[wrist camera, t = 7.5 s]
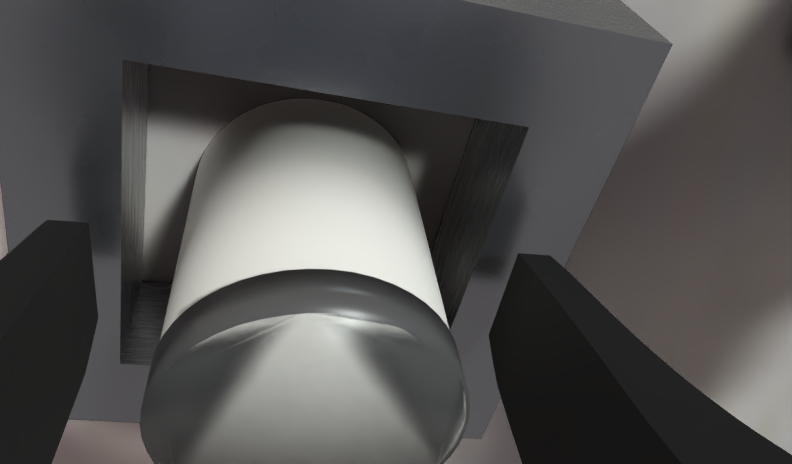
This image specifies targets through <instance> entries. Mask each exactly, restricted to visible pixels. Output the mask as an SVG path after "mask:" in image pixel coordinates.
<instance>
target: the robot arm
mask: <svg viewBox="0 0 792 464" xmlns="http://www.w3.org/2000/svg"><path fill="white" fill-rule="evenodd" d="M97 321H98V310H97V300H96V290H95V280H94V270H93V260H92V249H91V239H90V229H89V223H86V222H72V221H58V220H46V221H45V222H44V223H42V224H41V225H40V226H39V227H38V228H36V229H35V230H34V231H33V232H32V233H31V234H29V235H28V236H27V237H26V238H25V239H24V240H23V241H22V242H20V243H19V244H18V245H17V246H16V247H15V248H14V249H12V250H11V251H10V252H9V253H8V254H7V255H6V256H5V257H3V258H2V259H1V260H0V464H51V463H52V461H53V458H54V456H55V453H56V450H57V448H58V445H59V442H60V440H61V437H62V435H63V432H64V429H65V427H66V424H67V421H68V419H69V416H70V413H71V411H72V408H73V405H74V403H75V400H76V397H77V395H78V392H79V389H80V387H81V384H82V381H83V378H84V376H85V373H86V368H87V364H88V360H89V356H90V352H91V348H92V343H93V339H94V334H95V330H96V326H97ZM489 341H490V347H491V353H492V360H493V365H494V371H495V376H496V381H497V386H498V389H499V392H500V396H501V399H502V402H503V405H504V408H505V412H506V415H507V418H508V421H509V424H510V427H511V430H512V433H513V436H514V439H515V443H516V446H517V449H518V452H519V455H520V458H521V461H522V464H792V455H791V454H789V453H788V452H786V451H785V450H783V449H782V448H780V447H778V446H777V445H775V444H774V443H772V442H771V441H769V440H768V439H766V438H765V437H763V436H761V435H760V434H758V433H757V432H755V431H754V430H752V429H751V428H750V427H748V426H747V425H745V424H744V423H742V422H741V421H739V420H738V419H737V418H735V417H734V416H732V415H731V414H730V413H728V412H727V411H726V410H724V409H723V408H722V407H720V406H719V405H718V404H716V403H715V402H714V401H712V400H711V399H710V398H708V397H707V396H706V395H704V394H703V393H702V392H700V391H699V390H698V389H696V388H695V387H694V386H693V385H691V384H690V383H689V382H688V381H686V380H685V379H684V378H683V377H682V376H680V375H679V374H678V373H677V372H676V371H674V370H673V369H672V368H671V367H670V366H669V365H667V364H666V363H665V362H664V361H663V360H662V359H660V358H659V357H658V356H657V355H656V354H655V353H653V352H652V351H651V350H650V349H649V348H648V347H647V346H646V345H644V344H643V343H642V342H641V341H640V340H639V339H638V338H637V337H636V336H635V335H633V334H632V333H631V332H630V331H629V330H628V329H627V328H626V327H625V326H624V325H623V324H622V323H621V322H620V321H619V320H617V319H616V318H615V317H614V316H613V315H612V314H611V313H610V312H609V311H608V310H607V309H606V308H605V307H604V306H603V305H602V304H601V303H600V302H599V301H598V300H597V299H596V298H595V297H594V296H593V295H592V294H591V293H590V292H588V291H587V290H586V289H585V288H584V287H583V286H582V285H581V284H580V283H579V282H578V281H577V280H576V279H575V278H574V277H573V276H572V275H571V274H570V273H569V272H568V271H567V270H566V269H565V268H564V267H562V266H561V265H560V264H559V263H558V262H557V261H556V260H555V259H553V258H552V257H551V256H550V255H537V254H523V253H518V255H517V258H516V260H515V263H514V266H513V269H512V271H511V274H510V277H509V280H508V282H507V285H506V288H505V291H504V294H503V296H502V299H501V302H500V305H499V307H498V310H497V313H496V316H495V318H494V321H493V324H492V327H491V329H490V332H489Z"/></svg>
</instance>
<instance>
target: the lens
mask: <svg viewBox="0 0 792 464" xmlns="http://www.w3.org/2000/svg"><path fill="white" fill-rule="evenodd" d="M469 411H470V401H469V393H468V389H467V385H466V381H465V377H464V373H463V369H462V365H461V361H460V357H459V353H458V350H457V346H456V343H455V340H454V338H453V336H452V334H451V332H450V330H449V326H448V322H447V318H446V314H445V310H444V306H443V302H442V298H441V294H440V290H439V286H438V282H437V278H436V274H435V270H434V266H433V262H432V258H431V254H430V250H429V246H428V242H427V238H426V234H425V230H424V226H423V222H422V218H421V213H420V209H419V205H418V201H417V197H416V193H415V189H414V185H413V181H412V177H411V173H410V170H409V166H408V163H407V160H406V158H405V156H404V154H403V152H402V150H401V148H400V147H399V145H398V144H397V142H396V141H395V139H394V138H393V137H392V136H391V135H390V134H389V133H388V132H387V131H386V130H385V129H384V128H383V127H382V126H381V125H379V124H378V123H377V122H376V121H375V120H373V119H371V118H370V117H368V116H367V115H365V114H363V113H361V112H359V111H357V110H355V109H353V108H351V107H348V106H345V105H342V104H339V103H336V102H330V101H325V100H320V99H306V98H303V99H287V100H281V101H275V102H271V103H268V104H265V105H261V106H258V107H256V108H254V109H252V110H249V111H247V112H245V113H243V114H242V115H240V116H238V117H237V118H235V119H233V120H232V121H231V122H230V123H228V124H227V125H226V126H225V127H224V128H222V129H221V130H220V131H219V133H218V134H217V135H216V136H215V137H214V138H213V139H212V141H211V142H210V144H209V145H208V147H207V148H206V150H205V152H204V154H203V156H202V158H201V160H200V163H199V166H198V170H197V173H196V178H195V183H194V187H193V192H192V196H191V201H190V205H189V210H188V215H187V219H186V224H185V228H184V233H183V237H182V242H181V247H180V251H179V256H178V260H177V265H176V269H175V274H174V279H173V283H172V288H171V292H170V297H169V301H168V306H167V310H166V315H165V320H164V324H163V329H162V333H161V338H160V342H159V344H158V346H157V348H156V350H155V353H154V356H153V359H152V363H151V367H150V371H149V375H148V380H147V384H146V389H145V393H144V398H143V402H142V407H141V415H140V428H141V435H142V439H143V442H144V445H145V447H146V450H147V452H148V454H149V455H150V457H151V459H152V460H153V462H154V463H155V464H443V463H444V462H445V461H446V460H447V459H448V458H449V457H450V456H451V454H452V453H453V452H454V450H455V449H456V448H457V446H458V445H459V443H460V441H461V439H462V437H463V435H464V433H465V430H466V427H467V423H468V420H469Z"/></svg>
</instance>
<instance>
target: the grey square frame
mask: <svg viewBox="0 0 792 464" xmlns="http://www.w3.org/2000/svg"><path fill="white" fill-rule="evenodd" d="M672 45H673V44H672V43H670V42H669V41H668V40H667V39H666V38H664V37H663V36H662V35H661V34H660V33H658V32H657V31H656V30H655V29H654V28H653V27H651V26H650V25H649V24H648V23H647V22H645V21H644V20H643V19H642V18H641V17H639V16H638V15H637V14H636V13H635V12H634V11H632V10H631V9H630V8H629V7H628V6H626V5H625V4H624V3H623V2H622V1H620V0H0V181H1V190H2V199H3V208H4V217H5V226H6V235H7V244H8V252H10V251H11V250H12V249H14V248H15V247H16V246H17V245H18V244H19V243H20V242H22V241H23V240H24V239H25V238H26V237H27V236H28V235H29V234H31V233H32V232H33V231H34V230H35V229H36V228H38V227H39V226H40V225H41V224H42V223H44V222H45V221H46V220H58V221H72V222H86V223H89V229H90V239H91V249H92V260H93V270H94V280H95V290H96V300H97V310H98V321H97V326H96V330H95V334H94V339H93V343H92V348H91V352H90V356H89V360H88V364H87V368H86V373H85V376H84V378H83V381H82V384H81V387H80V389H79V392H78V395H77V397H76V400H75V403H74V405H73V408H72V411H71V413H70V416H69V420H90V421H112V422H133V423H140V415H141V407H142V402H143V398H144V393H145V389H146V384H147V380H148V375H149V371H150V367H151V363H152V359H153V356H154V353H155V350H156V348H157V346H158V344H159V342H160V338H161V333H162V329H163V324H164V320H165V315H166V310H167V306H168V301H169V297H170V292H171V288H172V284H169V283H159V282H148V281H142V270H143V238H144V206H145V173H146V141H147V109H148V77H149V64H151V65H157V66H163V67H169V68H175V69H181V70H187V71H193V72H199V73H205V74H211V75H217V76H223V77H229V78H235V79H242V80H248V81H254V82H260V83H266V84H272V85H278V86H284V87H290V88H296V89H302V90H308V91H314V92H320V93H326V94H332V95H338V96H344V97H350V98H356V99H362V100H368V101H374V102H380V103H386V104H392V105H398V106H404V107H410V108H416V109H422V110H428V111H434V112H440V113H446V114H452V115H458V116H464V117H470V118H476V121H475V124H474V127H473V130H472V132H471V135H470V138H469V141H468V144H467V147H466V150H465V153H464V156H463V159H462V162H461V165H460V168H459V171H458V174H457V177H456V180H455V183H454V186H453V189H452V192H451V195H450V198H449V201H448V204H447V207H446V210H445V213H444V216H443V219H442V222H441V225H440V227H439V230H438V233H437V236H436V239H435V242H434V245H433V248H432V251H431V258H432V262H433V266H434V270H435V274H436V278H437V282H438V286H439V290H440V294H441V298H442V302H443V306H444V310H445V314H446V318H447V322H448V326H449V330H450V332H451V334H452V336H453V338H454V340H455V343H456V346H457V350H458V353H459V357H460V361H461V365H462V369H463V373H464V377H465V381H466V385H467V389H468V393H469V401H470V411H469V420H468V423H467V427H466V430H465V433H464V435H463V437H462V438H475V439H481V438H482V436H483V434H484V432H485V429H486V427H487V425H488V423H489V421H490V419H491V417H492V415H493V413H494V411H495V409H496V407H497V405H498V403H499V401H500V399H501V396H500V392H499V389H498V386H497V381H496V376H495V371H494V365H493V360H492V353H491V347H490V341H489V332H490V329H491V327H492V324H493V321H494V318H495V316H496V313H497V310H498V307H499V305H500V302H501V299H502V296H503V294H504V291H505V288H506V285H507V282H508V280H509V277H510V274H511V271H512V269H513V266H514V263H515V260H516V258H517V255H518V253H523V254H537V255H550V256H551V257H552V258H553V259H555V260H556V261H557V262H558V263H559V264H560V265H561V266H562V267H565V265H566V263H567V261H568V259H569V257H570V255H571V252H572V250H573V248H574V246H575V244H576V242H577V240H578V238H579V236H580V234H581V232H582V230H583V228H584V226H585V224H586V222H587V220H588V217H589V215H590V213H591V211H592V209H593V207H594V205H595V203H596V201H597V199H598V197H599V195H600V193H601V191H602V189H603V187H604V185H605V182H606V180H607V178H608V176H609V174H610V172H611V170H612V168H613V166H614V164H615V162H616V160H617V158H618V156H619V154H620V152H621V150H622V147H623V145H624V143H625V141H626V139H627V137H628V135H629V133H630V131H631V129H632V127H633V125H634V123H635V121H636V119H637V117H638V115H639V112H640V110H641V108H642V106H643V104H644V102H645V100H646V98H647V96H648V94H649V92H650V90H651V88H652V86H653V84H654V82H655V80H656V78H657V75H658V73H659V71H660V69H661V67H662V65H663V63H664V61H665V59H666V57H667V55H668V53H669V51H670V49H671V47H672Z"/></svg>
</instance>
